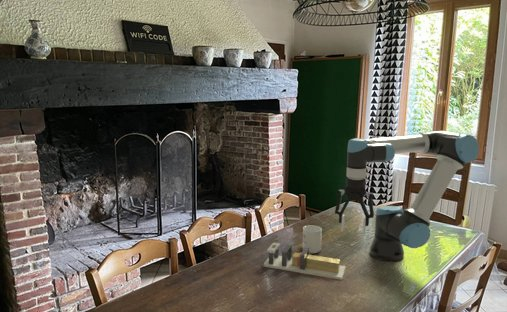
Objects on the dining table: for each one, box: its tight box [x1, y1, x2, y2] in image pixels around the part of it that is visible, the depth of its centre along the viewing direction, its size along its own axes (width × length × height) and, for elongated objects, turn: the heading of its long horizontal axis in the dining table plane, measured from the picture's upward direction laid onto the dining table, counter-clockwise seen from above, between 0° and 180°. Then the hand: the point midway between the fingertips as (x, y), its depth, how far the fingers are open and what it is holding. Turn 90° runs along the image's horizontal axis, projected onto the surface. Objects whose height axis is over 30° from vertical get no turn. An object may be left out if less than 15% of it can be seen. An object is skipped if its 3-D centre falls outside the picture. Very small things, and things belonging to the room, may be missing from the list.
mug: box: [302, 224, 323, 255], centre depth 189 cm, size 12×9×11 cm
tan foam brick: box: [291, 251, 341, 273], centre depth 168 cm, size 20×4×4 cm, turn 69°
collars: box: [266, 242, 310, 270], centre depth 172 cm, size 17×8×6 cm, turn 69°
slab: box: [263, 255, 347, 281], centre depth 170 cm, size 34×11×1 cm, turn 69°
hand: (353, 231), depth 160 cm, fingers open, 8 cm apart
